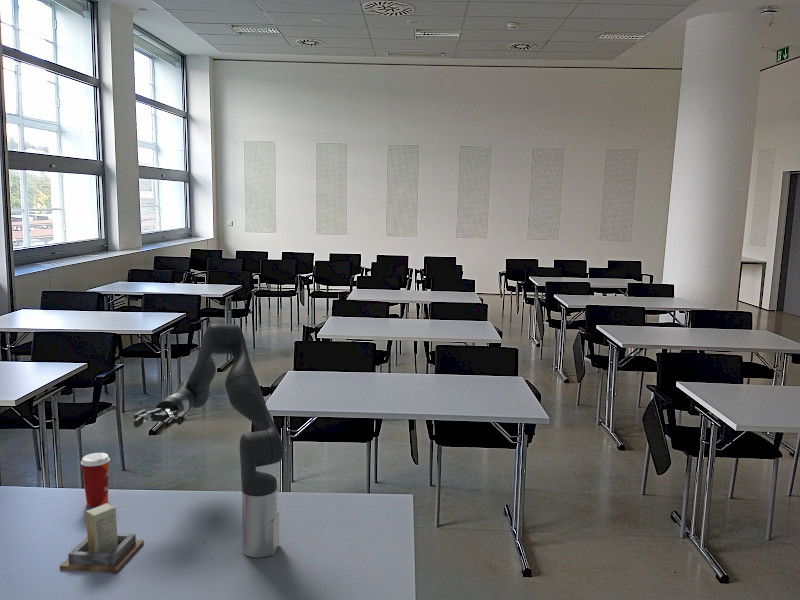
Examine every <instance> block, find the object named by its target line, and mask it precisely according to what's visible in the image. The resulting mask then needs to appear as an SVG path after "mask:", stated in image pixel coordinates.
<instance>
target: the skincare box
mask: <svg viewBox="0 0 800 600" xmlns="http://www.w3.org/2000/svg"><path fill="white" fill-rule="evenodd" d="M116 511H117V510H116V507H115V506H114V505H112V504H110V503H108V502H107V503H106V504H103V505H100V506H98V507H92V508H90V509H88V510H85V519H86V533H87V534H86V535H87V536H86V537H88V552H96V553H111V552H113V551H114V550H115V549H116V548H117V547H118V540H117V533H118V527H117V512H116Z"/></svg>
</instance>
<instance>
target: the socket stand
mask: <svg viewBox="0 0 800 600" xmlns="http://www.w3.org/2000/svg"><path fill="white" fill-rule="evenodd" d="M136 538H137V537H136V533H129V532H128V533H125V532H117V540H118V547H117V548H116V549H115V550H114V551H113V552H111V553H96V552H88V537H87V536H86V537H85V538H84V539H83V540H82V541H81V542H80V543H79V544H77V546H75V547H74V548H73V549H72V550H71V551H70V552H69V553H68V554H67V556H68V557H67V558H66V559H65V561H63V562H62V563H61V564H60V565H59V570H60V571H63V570H64V571H76V572H77V571H79V572H93V573H109V574H111V573H112V574H117V573H118V572H119V571H120V570H121V569H122V568H123V567H124V566H125V565H126V564H127V563H128V562H129V561H130V560H131V558H132V557H133V556H134V555H135V554H136V553H137V551H138V550H139V549H140V548H141V547H142V546H143V545H144V542H145V541H144V539H136Z"/></svg>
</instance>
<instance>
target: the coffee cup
mask: <svg viewBox="0 0 800 600" xmlns="http://www.w3.org/2000/svg"><path fill="white" fill-rule="evenodd" d="M110 461H111V458H110V456H109V455H108V453H106V452H93V453H88V454H86V455H85V456H83V457H82V458H81V460H80V465H81V467H82V475H83V484H84V493H85V500H86V505H87V506H88V507H89V506H90V508H95V507H98V506H100V505H103V504H106V503H108V502H109V501H108V500H109V477H110V476H109V475H110V471H109V470H110V469H109V466H110Z"/></svg>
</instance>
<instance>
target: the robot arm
mask: <svg viewBox="0 0 800 600" xmlns="http://www.w3.org/2000/svg"><path fill="white" fill-rule="evenodd" d="M243 332H244V331H243V329H242V328H241V327H240V326H239V325H237V324H233V323H230V324H229V323H211V324H209V325H208V326H207V327H206V330H205V331H204V334H203V338H202V341H201V344H200V346H199V347H200V349H199V351H198V354H197V355H198V356H197V360H196V362H195V365H194V367H193V369H192V371H191V373H190V374H189V376H188V379H184V380H182V381H181V382H180V383H179V385H178V386H177V387H176V390H175V392H174V393H173V394H170V395H169V396H167V397H166V398H164V399H162V400H161V401H160V402H158V403H157V405H156V406H155V408H154V409H152V410H148V411H147V409H146V408H143V409H141V410H139V411H137V412H135V413H134V414H133V426H134V428H140V426H142V425H143V424H150V425H151V424H153V423H162V424H163V429H164V430H166V429H169V428H170V427H171V426H174V425H176V424H177V426H180V425H182V424H183V423H184V422H185V421H186V420H187V418H188V415H187V412H188V411H189V410H190V409H192V408H194V409H200V408H202V407H203V406H205V404H206V403H207V401H208V400H209V396H210V386H211V384H212V381H213V379H214V378H215V375H216V371H217V367H216V364H215V361H214V360H213V357H212V355H213V354H217V355H231V356H232V357H233V363H232V365H231V368H230V370H229V372H228V373H227V376H226V379H225V381H224V387H225V390H226V394H227V396H228V400H229V403H230V405H231V406H232V407H233V409H235V410H236V411H237V413H239V414H241V416H243V417H245V418H246V419H248V421H250V422H251V423H253V424H254V426H256V428H257V429H258V430H257V431H256V430H255V431H251V432H250V431H249V432H245V433H243V434H241V436H240V439H239V446H238V447H239V460H240V478H241V511H242V512H241V513H242V514H241V515H242V517H241V520H242V524H241V525H242V526H241V528H242V529H241V530H242V531H241V532H242V552H243V554H244V555H245V556H247V557H250V558H265V557H270V556H271V557H272V556H274V555H276V552H277V550H278V548H279V546H280V512H278V481H277V478H276V476H274V475H273V474H271V473H268V472H262V471H258V470H257V467H258V468H260V467H263V466H269V465H274V464H277V463H280V462H281V461H282V459H284V454H285V453H284V452H285V451H284V444H283V441H282V437H281V434H280V433H279V430H278V428H277V426H276V424H275V421H274V420H273V418H272V416H271V413H270V411H269V409H268V407H267V404H266V401H265V399H264V394H263V392H262V388H261V386H260V382H259V380H258V379H257V378H258V377H257V376H256V375H257V374H256V372H255V371H254V367H253V365H252V363H251V359H250V356H249V352H248V347H247V343H246V339H245V335H244V333H243Z"/></svg>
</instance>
